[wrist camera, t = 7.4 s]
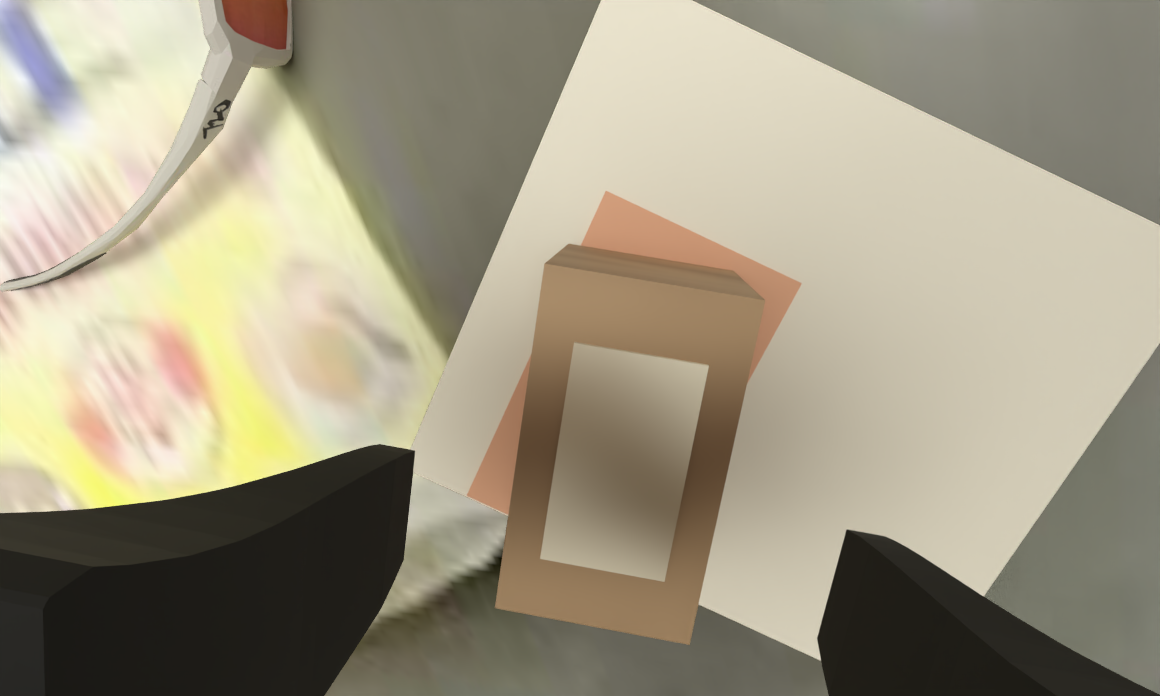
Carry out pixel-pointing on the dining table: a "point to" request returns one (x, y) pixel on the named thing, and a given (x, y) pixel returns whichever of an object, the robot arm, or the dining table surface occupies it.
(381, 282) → the dining table surface
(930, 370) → the mat
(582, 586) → the card box
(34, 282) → the sunglasses
